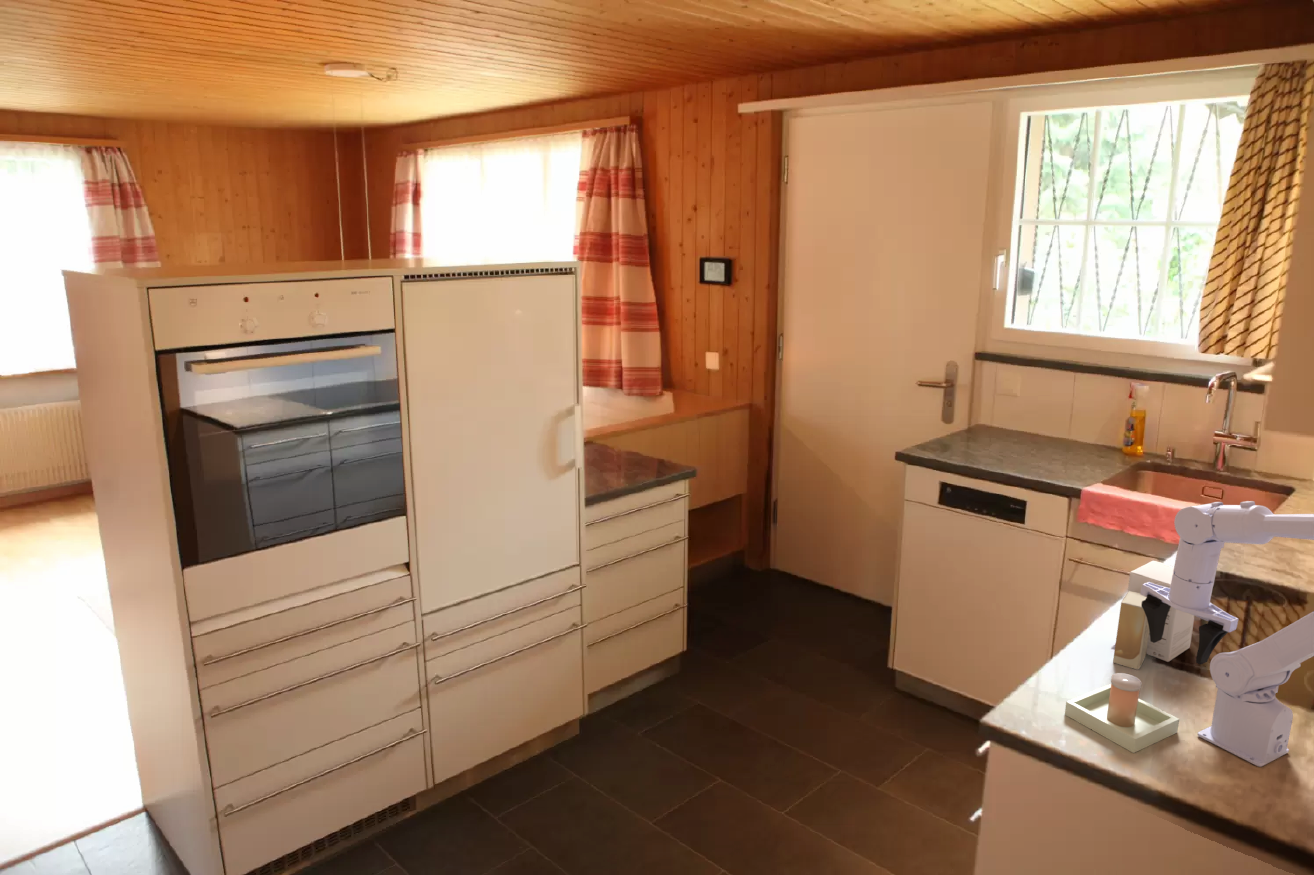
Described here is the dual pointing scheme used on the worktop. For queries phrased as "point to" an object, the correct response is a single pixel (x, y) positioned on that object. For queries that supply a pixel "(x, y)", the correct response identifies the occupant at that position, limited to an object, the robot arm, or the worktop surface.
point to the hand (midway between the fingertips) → (1178, 651)
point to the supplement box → (1176, 621)
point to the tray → (1145, 731)
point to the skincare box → (1131, 632)
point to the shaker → (1123, 699)
